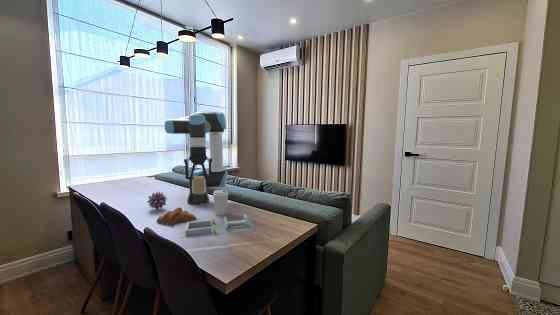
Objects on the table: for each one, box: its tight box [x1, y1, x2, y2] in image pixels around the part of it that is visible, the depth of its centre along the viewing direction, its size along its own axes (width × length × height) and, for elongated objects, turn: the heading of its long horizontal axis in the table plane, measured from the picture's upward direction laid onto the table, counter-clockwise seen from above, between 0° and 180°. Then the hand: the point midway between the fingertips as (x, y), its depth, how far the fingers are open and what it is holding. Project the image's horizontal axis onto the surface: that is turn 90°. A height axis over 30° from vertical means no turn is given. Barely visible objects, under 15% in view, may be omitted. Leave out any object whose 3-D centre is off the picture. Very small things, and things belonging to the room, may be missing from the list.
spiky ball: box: [146, 191, 168, 210], centre depth 156 cm, size 12×12×12 cm
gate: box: [223, 213, 248, 230], centre depth 128 cm, size 8×12×5 cm
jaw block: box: [193, 176, 204, 195], centre depth 121 cm, size 6×5×8 cm
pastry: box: [156, 207, 198, 226], centre depth 136 cm, size 17×15×8 cm
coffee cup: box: [212, 189, 229, 216], centre depth 147 cm, size 10×10×15 cm
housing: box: [179, 216, 255, 239], centre depth 126 cm, size 16×36×4 cm, turn 107°
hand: (199, 192), depth 121 cm, fingers closed on jaw block, 5 cm apart
